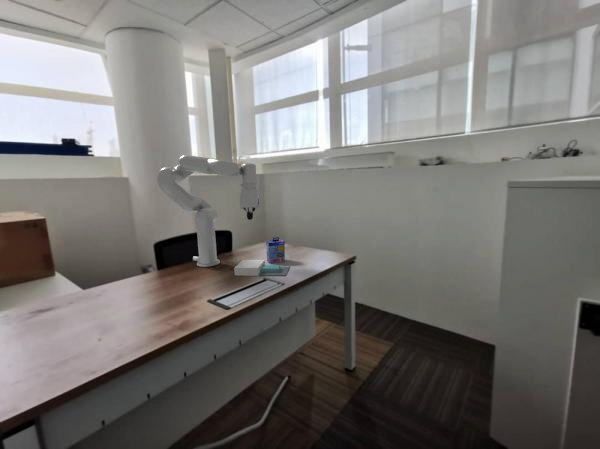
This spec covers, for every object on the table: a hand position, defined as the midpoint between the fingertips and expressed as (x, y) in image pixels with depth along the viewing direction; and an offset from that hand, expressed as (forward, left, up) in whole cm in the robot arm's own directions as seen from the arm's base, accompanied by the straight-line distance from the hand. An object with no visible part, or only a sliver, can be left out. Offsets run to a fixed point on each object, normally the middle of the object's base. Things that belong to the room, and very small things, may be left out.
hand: (249, 219), depth 155 cm
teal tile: (+14, -15, -25) cm, 32 cm away
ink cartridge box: (+13, +2, -25) cm, 29 cm away
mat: (+16, -16, -25) cm, 34 cm away
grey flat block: (+3, -16, -25) cm, 30 cm away
